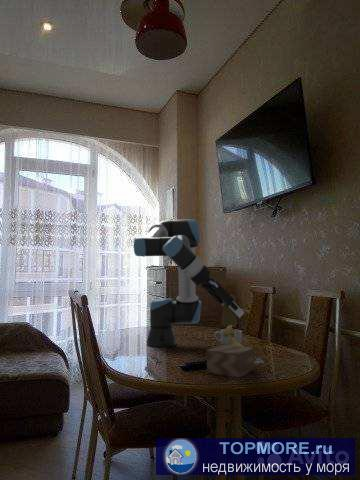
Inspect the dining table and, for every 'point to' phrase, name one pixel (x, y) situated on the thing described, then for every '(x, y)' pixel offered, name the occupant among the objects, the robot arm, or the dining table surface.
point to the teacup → (228, 337)
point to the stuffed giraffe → (232, 331)
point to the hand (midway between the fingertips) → (238, 314)
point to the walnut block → (230, 360)
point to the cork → (229, 314)
